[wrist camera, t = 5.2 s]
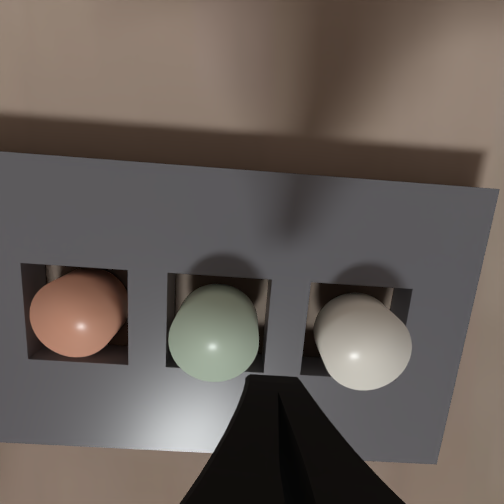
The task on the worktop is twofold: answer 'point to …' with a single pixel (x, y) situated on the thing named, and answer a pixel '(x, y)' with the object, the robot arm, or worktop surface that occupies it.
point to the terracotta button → (79, 311)
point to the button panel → (230, 265)
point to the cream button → (361, 341)
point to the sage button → (215, 333)
